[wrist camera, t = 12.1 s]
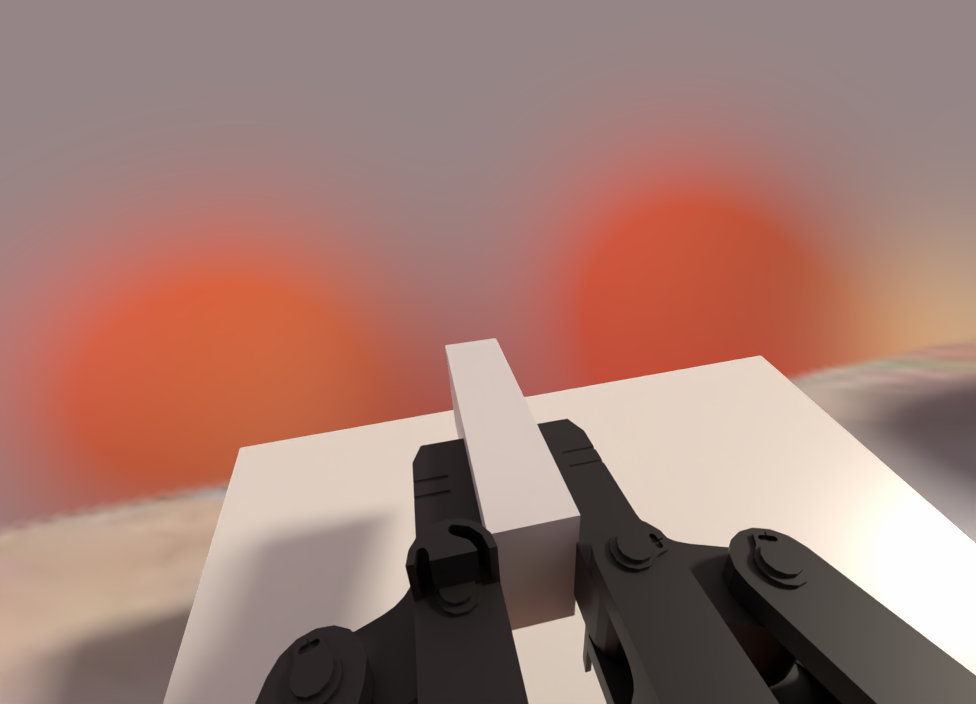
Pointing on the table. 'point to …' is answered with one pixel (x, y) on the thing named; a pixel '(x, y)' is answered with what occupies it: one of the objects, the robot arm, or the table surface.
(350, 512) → the cover
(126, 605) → the table surface
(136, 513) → the table surface
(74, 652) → the table surface
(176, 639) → the table surface
